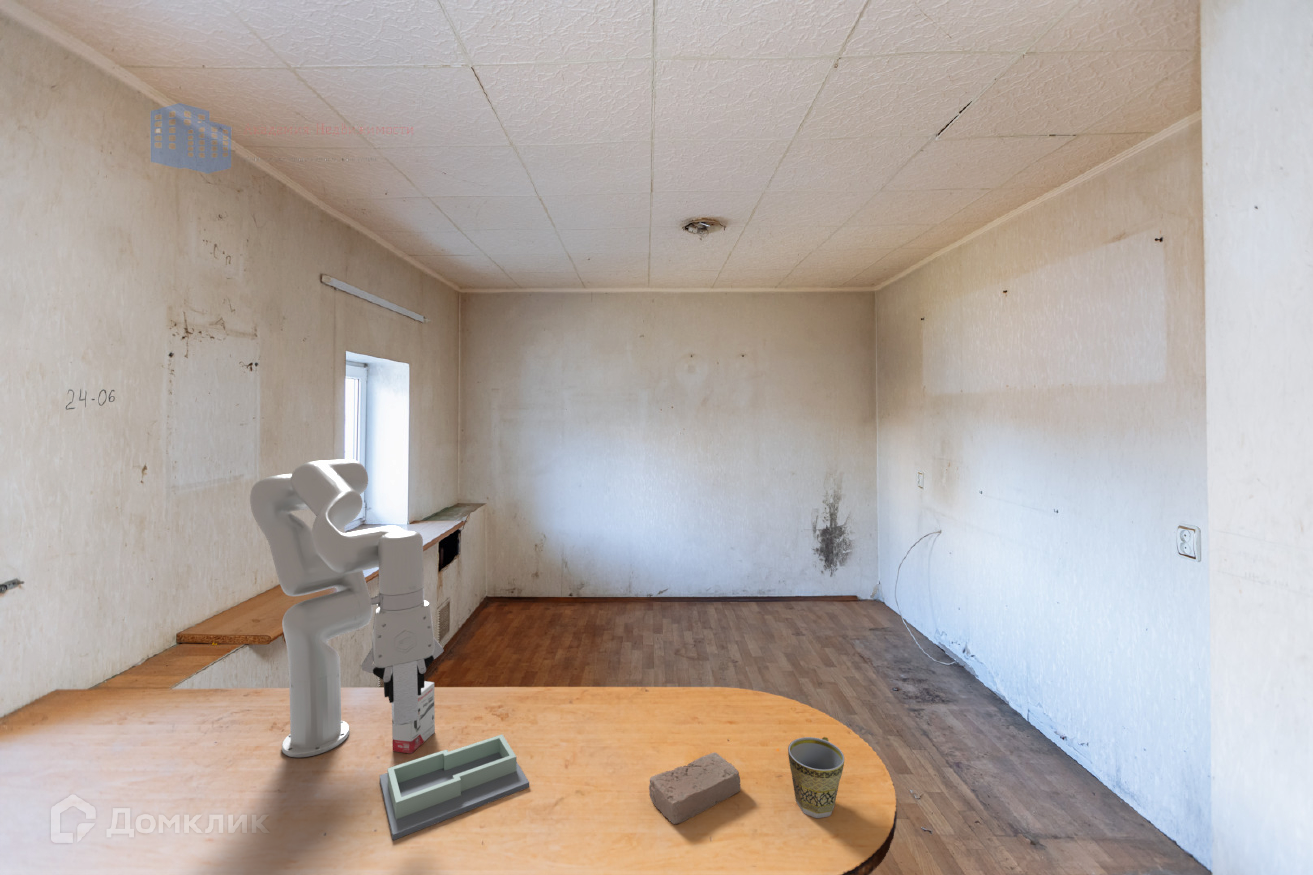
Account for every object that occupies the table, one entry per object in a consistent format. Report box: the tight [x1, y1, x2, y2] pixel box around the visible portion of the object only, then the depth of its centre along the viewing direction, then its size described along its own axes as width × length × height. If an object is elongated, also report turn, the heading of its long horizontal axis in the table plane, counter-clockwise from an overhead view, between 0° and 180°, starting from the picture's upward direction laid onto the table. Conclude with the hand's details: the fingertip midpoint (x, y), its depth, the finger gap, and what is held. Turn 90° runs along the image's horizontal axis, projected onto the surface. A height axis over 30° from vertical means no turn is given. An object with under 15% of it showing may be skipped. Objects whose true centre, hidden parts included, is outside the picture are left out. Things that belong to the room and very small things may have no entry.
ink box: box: [391, 680, 436, 754], centre depth 119 cm, size 9×5×12 cm, turn 168°
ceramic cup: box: [787, 736, 845, 819], centre depth 101 cm, size 13×10×10 cm
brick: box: [648, 751, 742, 825], centre depth 103 cm, size 17×8×5 cm, turn 124°
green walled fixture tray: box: [379, 733, 530, 841], centre depth 105 cm, size 18×24×4 cm
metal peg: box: [391, 661, 418, 726], centre depth 101 cm, size 4×4×12 cm
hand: (404, 694), depth 101 cm, fingers closed on metal peg, 4 cm apart
